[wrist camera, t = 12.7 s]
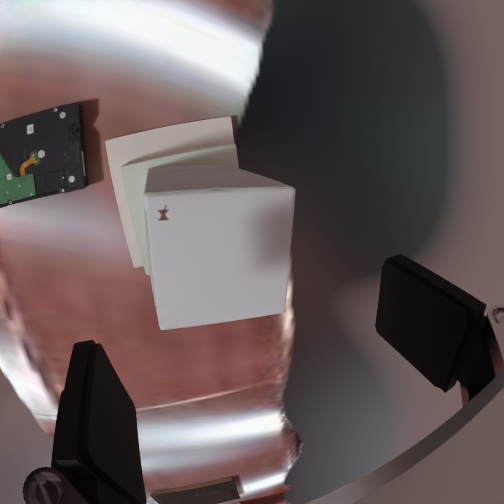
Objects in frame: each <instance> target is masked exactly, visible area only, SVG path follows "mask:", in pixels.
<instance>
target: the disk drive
mask: <svg viewBox="0 0 504 504" xmlns="http://www.w3.org/2000/svg"><path fill="white" fill-rule="evenodd" d="M82 118H83V117H82V105H80V104H79V103H74V104H69V105H63V106H59V107H57V108H53V109H49V110H45V111H42V112H38V113H35V114H31V115H28V116H25V117H21V118H19V119H15V120H12V121H9V122H6V123H3V124H0V208H2V207H5V206H8V205H12V204H16V203H20V202H24V201H28V200H33V199H37V198H42V197H46V196H50V195H55V194H60V193H67V192H72V191H75V190H79V189H84V188H85V187H87V186H88V179H87V170H86V160H85V148H84V134H83V119H82Z"/></svg>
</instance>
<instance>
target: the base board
mask: <svg viewBox="0 0 504 504" xmlns="http://www.w3.org/2000/svg"><path fill="white" fill-rule="evenodd" d="M105 144H106V150H107V155H108V161H109V166H110V171H111V176H112V181H113V186H114V190H115V195H116V200H117V204H118V208H119V212H120V217H121V221H122V225H123V229H124V232H125V236H126V240H127V244H128V247H129V251H130V254H131V258H132V261H133V265H134V268H136V267H140V266H144V265H143V261H142V258H141V254H140V250H139V247H138V243H137V239H136V235H135V231H134V227H133V223H132V219H131V215H130V210H129V206H128V201H127V197H126V192H125V187H124V183H123V178H122V173H121V166H123V165H124V164H126V163H127V162H128V161H130V160H134V159H138V158H143V157H147V156H151V155H156V154H161V153H165V152H170V151H175V150H180V149H186V148H191V147H196V146H202V145H208V144H234V137H233V129H232V122H231V116H230V117H222V118H215V119H208V120H201V121H195V122H189V123H183V124H178V125H172V126H167V127H162V128H157V129H152V130H148V131H143V132H139V133H134V134H130V135H126V136H122V137H118V138H114V139H110V140H107V141H105Z"/></svg>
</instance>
